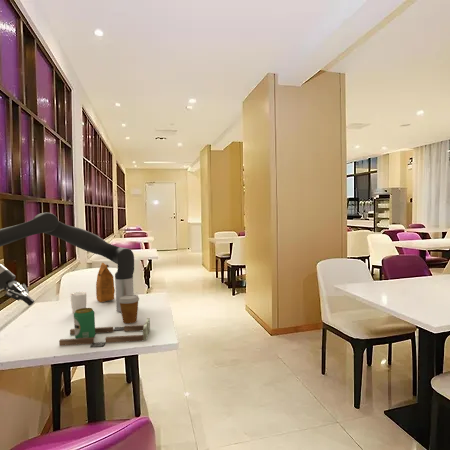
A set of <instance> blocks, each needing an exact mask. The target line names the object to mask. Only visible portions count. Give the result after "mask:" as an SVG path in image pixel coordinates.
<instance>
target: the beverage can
mask: <svg viewBox="0 0 450 450" xmlns="http://www.w3.org/2000/svg"><path fill="white" fill-rule="evenodd" d="M95 322H96V321H95V311H94V308H92V307H86V308H81V309H78V310H76V311H75V313H74V314H73V324H74V329H75V334H74V339H75V338H92V337H94V338H95V336H96V333H95V328H96V323H95Z"/></svg>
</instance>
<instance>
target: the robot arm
mask: <svg viewBox="0 0 450 450" xmlns="http://www.w3.org/2000/svg"><path fill="white" fill-rule="evenodd" d="M38 234H39V235H40V234H47V235H49V236H52V237H55V238H58V239H60V240H62V241H64V242H66V243H69V244H70V245H72V246H74V247H76V248H78V249H81V250H83V251H84V252H85V251H86V252H88V253H92V254H95V255H99V256H101V257H104V258H106V259H108V260H109V261H111V262H113V263H114V264H116V265H117V271H116V272H115V274H114V279H115V281H114V287H115V299H116V300H115V309H116V312H118V313H121V307H120V303H119V298H120V297H121V296H124V295H135V294H134V273H135V256H134V255H135V254H134V252H133V250H131V249H130V248H127V247H122V246H121V247H120V246H117V245H113V244H111V243H109V242H107V241H106V240H104V239H103V238H101V237H100V236H99V235H97V234H95V233H93V232H90V231H88V230H86V229H84V228H80V227H75V226H72V225H69V224H65V223H63V222H61V221H59V218H58V216H56V215H55V214H54V213H52V212H41V213H37V214H36V215H35V216H34V217H33V219H30V220H28V221H26V222H23V223H19V224H18V223H17V224H16V225H12V226H6V227H4V228H3V227H2V228H0V247H3V246H5V245H8V244H11V243H14V242H17V241H19V240H22V239H24V238H27V237H30V236H35V235H38ZM16 278H17V277H16V275H15V274H14V273H13V272H11V271H10V270H9V269H8V268H7V267H5V265H3V264H1V263H0V291H2V290H4V291H6V293H5V296H6V297H7V298H8V297H9V298H11V299H13V300H15V301H23V302H24V303H25V304H26V305H28V307H30V306H32V305H33V304H34V303H35V300H34V299H32V297H31V296H29V294H30V292H29V290H28V288H27V285H26V284H25V283H23V284H20V282H19V281H17V280H16Z"/></svg>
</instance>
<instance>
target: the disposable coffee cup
mask: <svg viewBox="0 0 450 450" xmlns="http://www.w3.org/2000/svg"><path fill="white" fill-rule="evenodd" d="M139 301H140V297H139V295H138V294H134V295H124V296H121V297H120V298H119V303H120V307H121V312H120V313H121V317H122V323H123V324H127V325H129V324H135V323H136V322H137V320H138V311H139V310H138V309H139V307H138V306H139Z"/></svg>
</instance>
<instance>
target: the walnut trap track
mask: <svg viewBox="0 0 450 450" xmlns="http://www.w3.org/2000/svg"><path fill="white" fill-rule="evenodd" d="M140 330H143V331H142V334H131V335H127V334H126V335H115V336H114V335H113V336H106V337H105V339H104V340H105V341H99V342H96V341H95V336H94V337H92V338H75V337H74V338H61V339H60V340H59V341H58V342H59V346H75V345H77V346H78V345H90V346H89V348H103V347H104V346H105V344H108V343H109V344H110V343H127V342H126V341H129V342H140V341H142V340H147V339H146V338H148V336H149V332H150V330H151V320H150V317H147V318H146V320H145V322H144V324H138V325H136V324H135V325H124V326H116V327H114V326H98V327H95V334H105V333H106V334H107V333H113V332H120V331H125V332H140ZM69 334H70V335H75V328H71V329H70V330H69ZM147 335H148V336H147ZM142 342H143V341H142Z"/></svg>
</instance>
